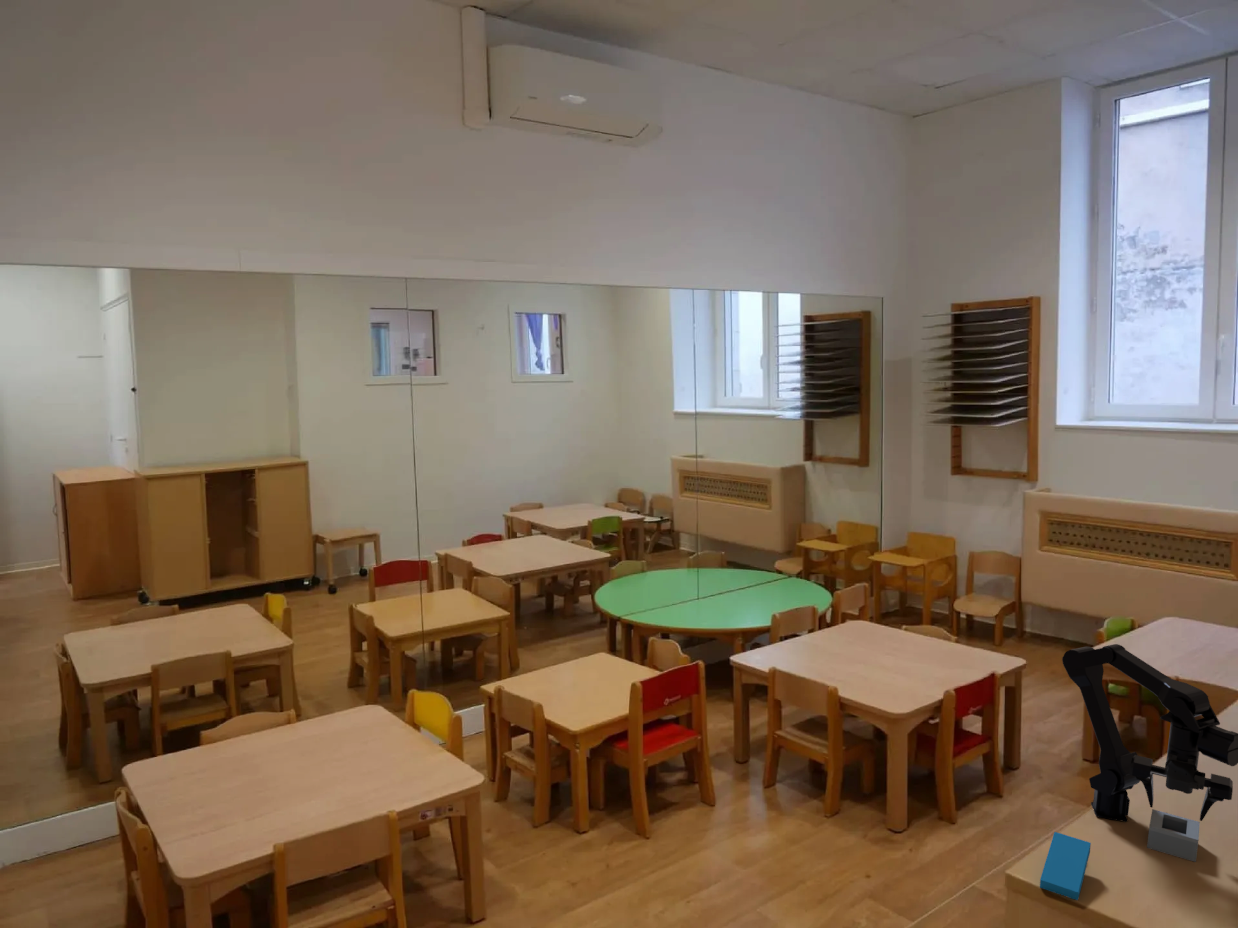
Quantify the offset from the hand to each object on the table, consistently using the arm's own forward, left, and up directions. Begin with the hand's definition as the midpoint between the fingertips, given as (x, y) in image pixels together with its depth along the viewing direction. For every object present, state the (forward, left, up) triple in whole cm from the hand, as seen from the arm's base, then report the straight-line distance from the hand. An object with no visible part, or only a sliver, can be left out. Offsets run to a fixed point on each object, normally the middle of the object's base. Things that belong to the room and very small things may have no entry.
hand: (1175, 813), depth 194 cm
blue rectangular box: (-24, -20, -8) cm, 32 cm away
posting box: (0, 0, -8) cm, 8 cm away
